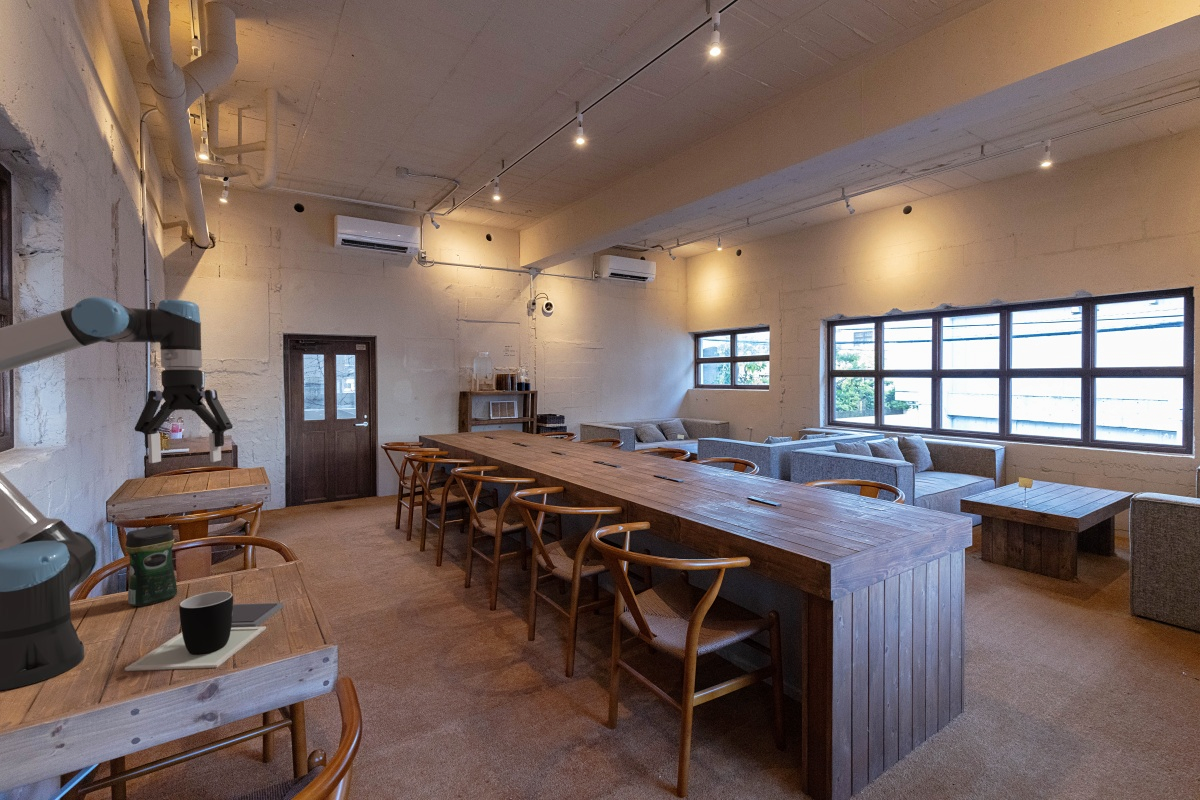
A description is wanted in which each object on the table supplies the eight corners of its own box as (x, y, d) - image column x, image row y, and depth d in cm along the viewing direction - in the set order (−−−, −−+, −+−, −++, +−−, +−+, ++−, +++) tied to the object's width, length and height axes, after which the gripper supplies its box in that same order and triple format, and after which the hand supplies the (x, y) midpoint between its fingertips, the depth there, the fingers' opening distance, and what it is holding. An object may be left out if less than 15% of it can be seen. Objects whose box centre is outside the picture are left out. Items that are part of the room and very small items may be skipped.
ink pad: (200, 629, 123) (200, 624, 123) (233, 608, 135) (233, 603, 135) (255, 628, 124) (255, 622, 124) (283, 606, 136) (283, 601, 136)
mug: (243, 643, 116) (241, 595, 116) (194, 662, 108) (193, 611, 108) (212, 631, 122) (211, 585, 121) (164, 648, 114) (163, 600, 114)
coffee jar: (170, 591, 147) (168, 521, 147) (181, 597, 142) (178, 525, 142) (123, 602, 140) (121, 529, 139) (132, 610, 135) (130, 534, 134)
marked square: (124, 670, 106) (124, 668, 106) (186, 631, 123) (186, 629, 123) (217, 667, 106) (216, 665, 106) (266, 628, 123) (266, 626, 123)
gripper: (111, 369, 123) (115, 465, 123) (227, 367, 124) (230, 462, 124) (138, 370, 130) (142, 460, 131) (247, 368, 131) (250, 458, 132)
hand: (185, 461), depth 128 cm, fingers open, 13 cm apart
